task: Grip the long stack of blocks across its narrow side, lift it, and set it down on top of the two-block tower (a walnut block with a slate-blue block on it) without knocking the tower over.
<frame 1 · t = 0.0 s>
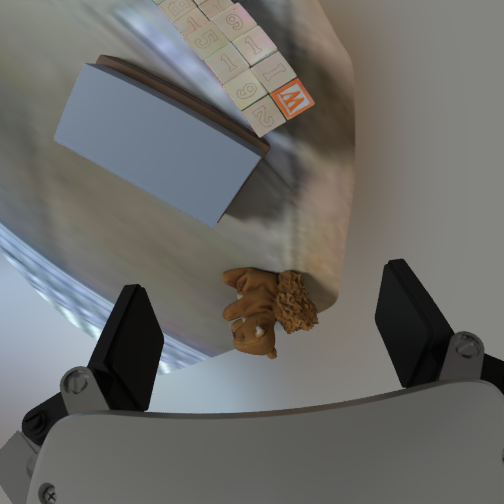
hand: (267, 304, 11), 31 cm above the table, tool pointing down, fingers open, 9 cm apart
walnut tower block: (165, 131, 37), on the table, touching slate-blue tower block
stack of blocks: (228, 48, 31), on the table
slate-blue tower block: (157, 136, 33), point 4 cm above the table, touching walnut tower block
stuffed squirrel: (267, 285, 50), on the table
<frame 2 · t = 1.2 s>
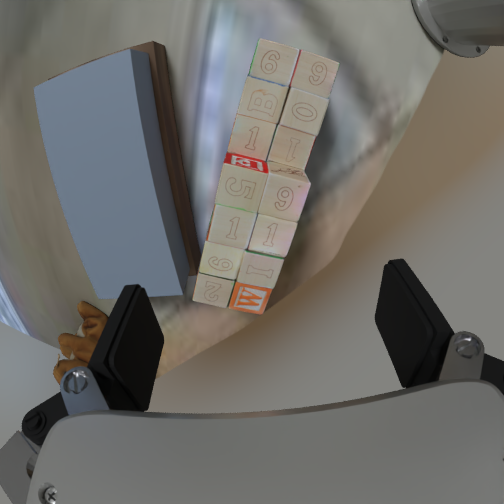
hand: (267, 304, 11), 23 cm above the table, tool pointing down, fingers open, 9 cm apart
walnut tower block: (132, 164, 31), on the table, touching slate-blue tower block
stack of blocks: (258, 153, 31), on the table
slate-blue tower block: (121, 177, 27), point 4 cm above the table, touching walnut tower block
stuffed squirrel: (109, 333, 45), on the table
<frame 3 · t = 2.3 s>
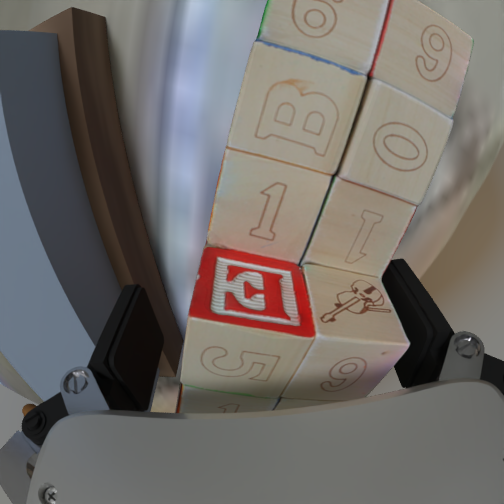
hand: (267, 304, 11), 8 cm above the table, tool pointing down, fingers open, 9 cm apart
walnut tower block: (71, 213, 19), on the table, touching slate-blue tower block
stack of blocks: (271, 197, 18), on the table
slate-blue tower block: (39, 247, 15), point 4 cm above the table, touching walnut tower block
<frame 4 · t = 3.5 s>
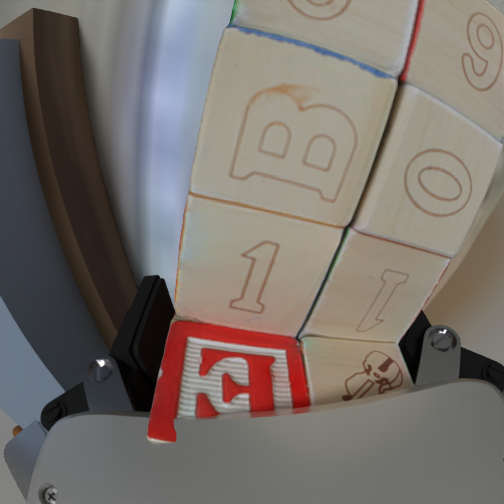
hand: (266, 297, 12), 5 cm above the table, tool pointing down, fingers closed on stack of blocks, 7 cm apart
walnut tower block: (47, 239, 16), on the table, touching slate-blue tower block
stack of blocks: (264, 223, 16), on the table, touching gripper
slate-blue tower block: (10, 280, 13), point 4 cm above the table, touching walnut tower block
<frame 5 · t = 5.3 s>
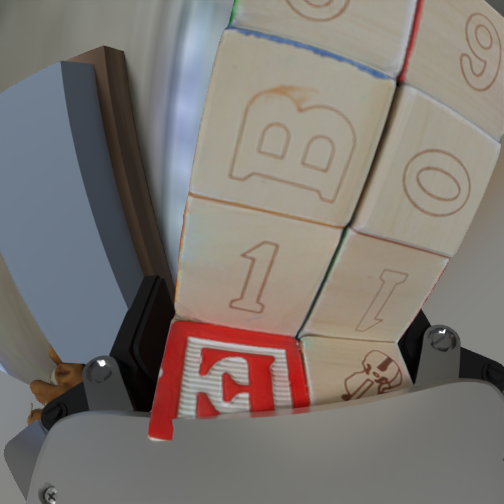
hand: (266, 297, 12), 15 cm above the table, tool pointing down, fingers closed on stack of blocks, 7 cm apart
walnut tower block: (92, 202, 25), on the table, touching slate-blue tower block
stack of blocks: (264, 223, 16), point 9 cm above the table, touching gripper
slate-blue tower block: (72, 223, 21), point 4 cm above the table, touching walnut tower block
stuffed squirrel: (85, 377, 37), on the table
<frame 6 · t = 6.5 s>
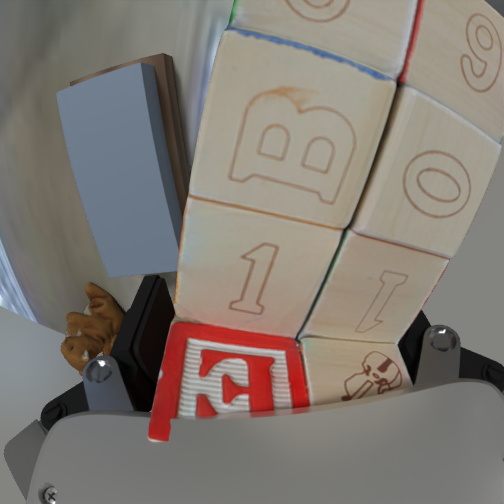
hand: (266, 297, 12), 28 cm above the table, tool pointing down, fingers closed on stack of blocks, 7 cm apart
walnut tower block: (142, 159, 36), on the table, touching slate-blue tower block
stack of blocks: (264, 224, 16), point 22 cm above the table, touching gripper
slate-blue tower block: (130, 170, 32), point 4 cm above the table, touching walnut tower block
stuffed squirrel: (113, 314, 49), on the table
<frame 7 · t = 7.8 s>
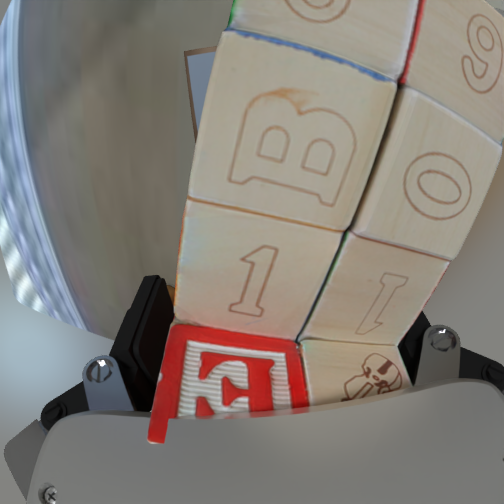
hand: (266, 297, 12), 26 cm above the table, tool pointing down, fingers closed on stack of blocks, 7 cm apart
walnut tower block: (254, 150, 34), on the table, touching slate-blue tower block
stack of blocks: (264, 224, 16), point 21 cm above the table, touching gripper
slate-blue tower block: (258, 160, 31), point 4 cm above the table, touching walnut tower block
when the fingers open (15 cm above the table, at t = 10.3 s): stack of blocks drops 2 cm, resting on slate-blue tower block.
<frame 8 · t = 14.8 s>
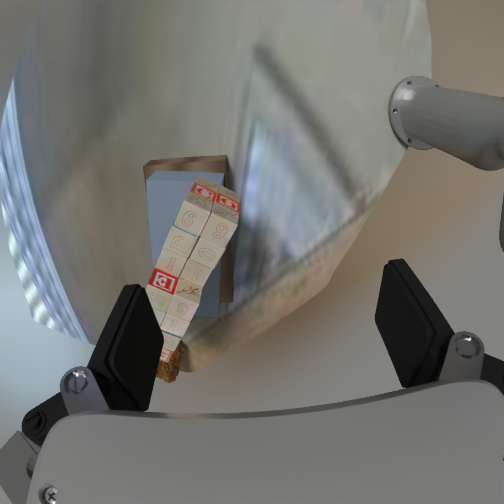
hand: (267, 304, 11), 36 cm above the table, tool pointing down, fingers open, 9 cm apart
walnut tower block: (195, 228, 51), on the table, touching slate-blue tower block
stack of blocks: (187, 247, 42), point 8 cm above the table, touching slate-blue tower block
slate-blue tower block: (189, 242, 47), point 4 cm above the table, touching stack of blocks, walnut tower block
stuffed squirrel: (159, 334, 63), on the table
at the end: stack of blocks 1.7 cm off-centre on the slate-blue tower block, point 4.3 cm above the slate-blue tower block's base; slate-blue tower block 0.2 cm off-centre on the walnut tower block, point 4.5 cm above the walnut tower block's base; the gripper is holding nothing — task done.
